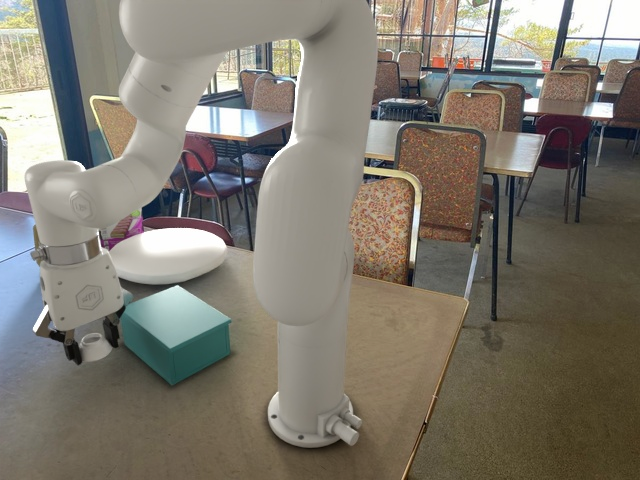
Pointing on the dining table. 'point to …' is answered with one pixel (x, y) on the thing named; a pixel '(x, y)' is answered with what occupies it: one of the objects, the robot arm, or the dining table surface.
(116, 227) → the candy bar box
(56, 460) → the dining table surface
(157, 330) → the lunchbox lid
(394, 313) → the dining table surface
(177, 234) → the plate
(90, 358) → the white jar
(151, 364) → the box
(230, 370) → the dining table surface
